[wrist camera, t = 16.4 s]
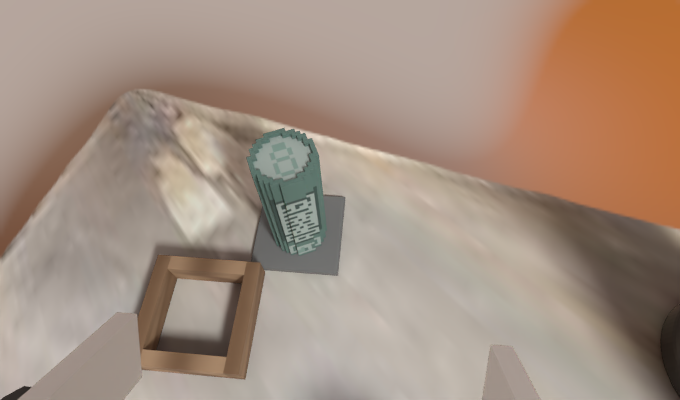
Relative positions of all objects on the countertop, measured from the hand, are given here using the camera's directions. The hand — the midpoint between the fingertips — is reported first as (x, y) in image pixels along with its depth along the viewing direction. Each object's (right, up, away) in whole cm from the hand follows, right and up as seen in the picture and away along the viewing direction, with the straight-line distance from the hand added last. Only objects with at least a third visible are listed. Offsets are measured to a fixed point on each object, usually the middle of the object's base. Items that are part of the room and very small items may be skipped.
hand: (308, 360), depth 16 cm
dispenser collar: (-14, -7, +31) cm, 34 cm away
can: (-4, +2, +35) cm, 35 cm away
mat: (-4, +2, +36) cm, 36 cm away
